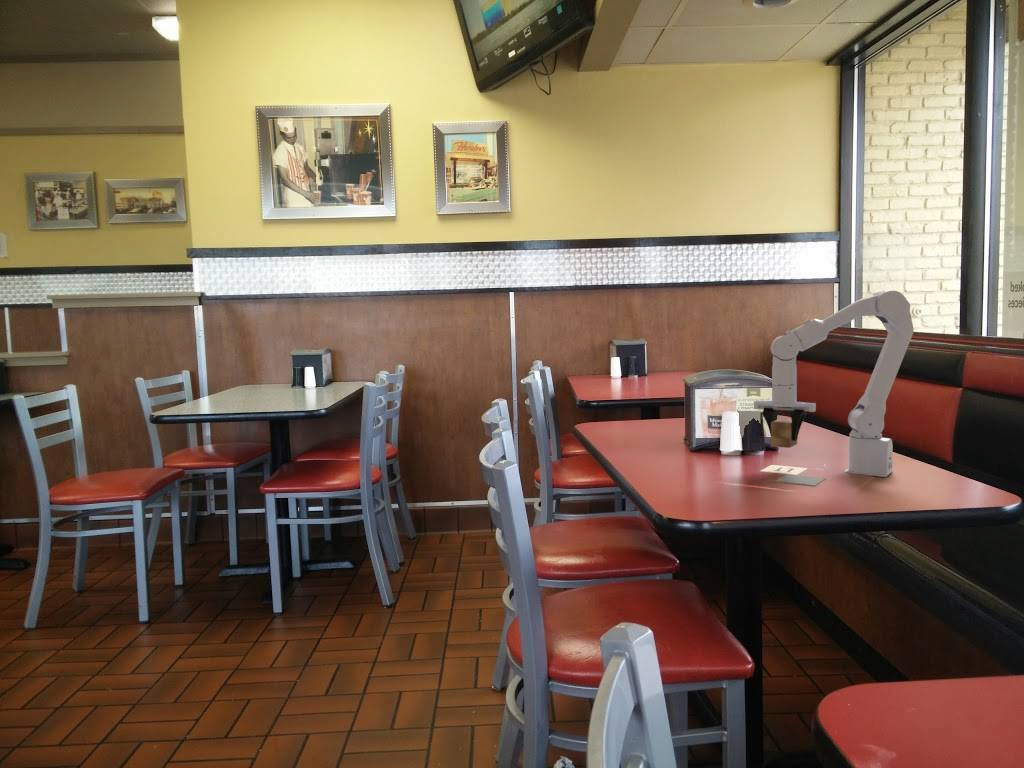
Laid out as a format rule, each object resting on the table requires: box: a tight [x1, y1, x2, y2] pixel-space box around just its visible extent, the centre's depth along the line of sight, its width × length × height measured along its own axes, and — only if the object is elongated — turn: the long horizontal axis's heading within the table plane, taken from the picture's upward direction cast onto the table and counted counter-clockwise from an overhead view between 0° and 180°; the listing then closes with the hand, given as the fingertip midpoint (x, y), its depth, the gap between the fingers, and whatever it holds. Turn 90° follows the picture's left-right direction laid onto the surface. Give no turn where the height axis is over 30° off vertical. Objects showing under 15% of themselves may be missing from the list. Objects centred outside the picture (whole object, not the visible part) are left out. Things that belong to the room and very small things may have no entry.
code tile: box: [760, 464, 808, 475], centre depth 191 cm, size 9×9×1 cm
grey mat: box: [774, 474, 827, 487], centre depth 179 cm, size 9×9×1 cm
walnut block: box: [770, 418, 798, 449], centre depth 190 cm, size 4×6×6 cm
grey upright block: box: [735, 408, 761, 437], centre depth 218 cm, size 6×4×12 cm
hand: (784, 439), depth 190 cm, fingers closed on walnut block, 4 cm apart
